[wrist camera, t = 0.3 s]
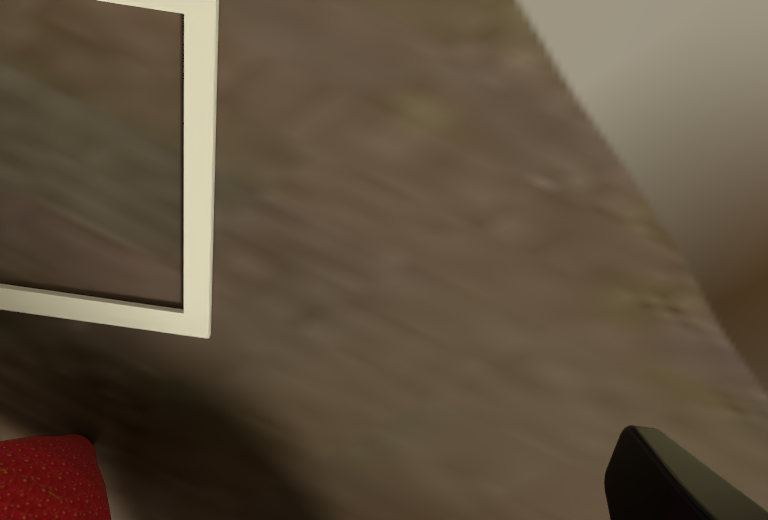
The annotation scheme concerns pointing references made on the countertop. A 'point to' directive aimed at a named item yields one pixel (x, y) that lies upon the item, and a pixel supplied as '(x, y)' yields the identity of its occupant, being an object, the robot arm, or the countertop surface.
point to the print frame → (199, 176)
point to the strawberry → (51, 479)
